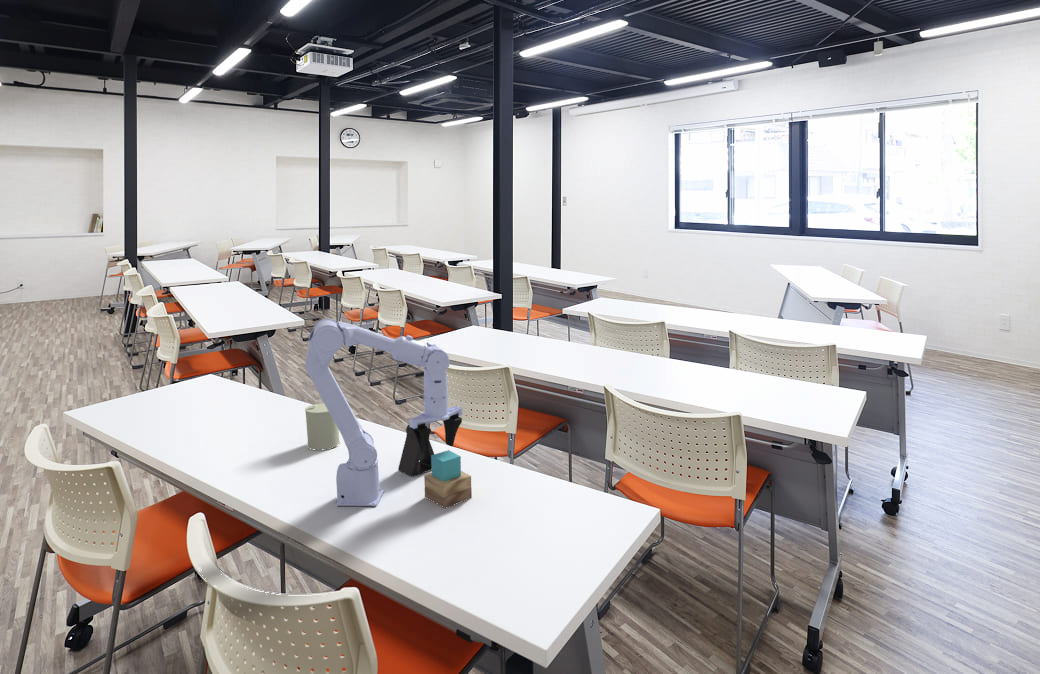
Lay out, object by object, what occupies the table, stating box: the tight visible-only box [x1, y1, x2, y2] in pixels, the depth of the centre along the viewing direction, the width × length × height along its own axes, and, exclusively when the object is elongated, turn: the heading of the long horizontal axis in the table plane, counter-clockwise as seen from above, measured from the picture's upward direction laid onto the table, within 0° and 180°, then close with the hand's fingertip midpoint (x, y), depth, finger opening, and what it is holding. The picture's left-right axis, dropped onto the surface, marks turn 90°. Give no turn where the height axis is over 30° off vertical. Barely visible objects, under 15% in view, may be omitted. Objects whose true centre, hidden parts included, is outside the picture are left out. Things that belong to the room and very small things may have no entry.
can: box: [304, 402, 341, 451], centre depth 182 cm, size 9×9×12 cm
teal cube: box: [431, 449, 462, 482], centre depth 148 cm, size 5×5×5 cm
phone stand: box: [397, 424, 435, 477], centre depth 165 cm, size 9×6×12 cm, turn 135°
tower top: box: [423, 470, 472, 498], centre depth 149 cm, size 8×8×3 cm
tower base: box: [424, 486, 473, 509], centre depth 149 cm, size 8×8×3 cm
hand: (437, 449), depth 152 cm, fingers open, 7 cm apart
